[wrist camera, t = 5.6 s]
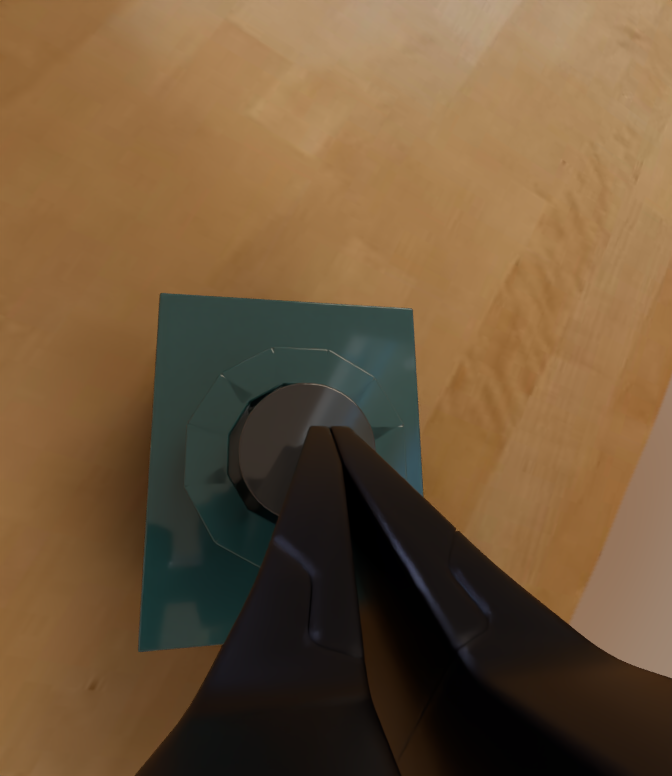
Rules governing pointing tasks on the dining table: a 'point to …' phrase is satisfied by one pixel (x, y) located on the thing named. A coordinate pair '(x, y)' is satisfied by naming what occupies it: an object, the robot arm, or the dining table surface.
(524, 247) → the dining table surface
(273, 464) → the dark brown button
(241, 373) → the teal push button box
